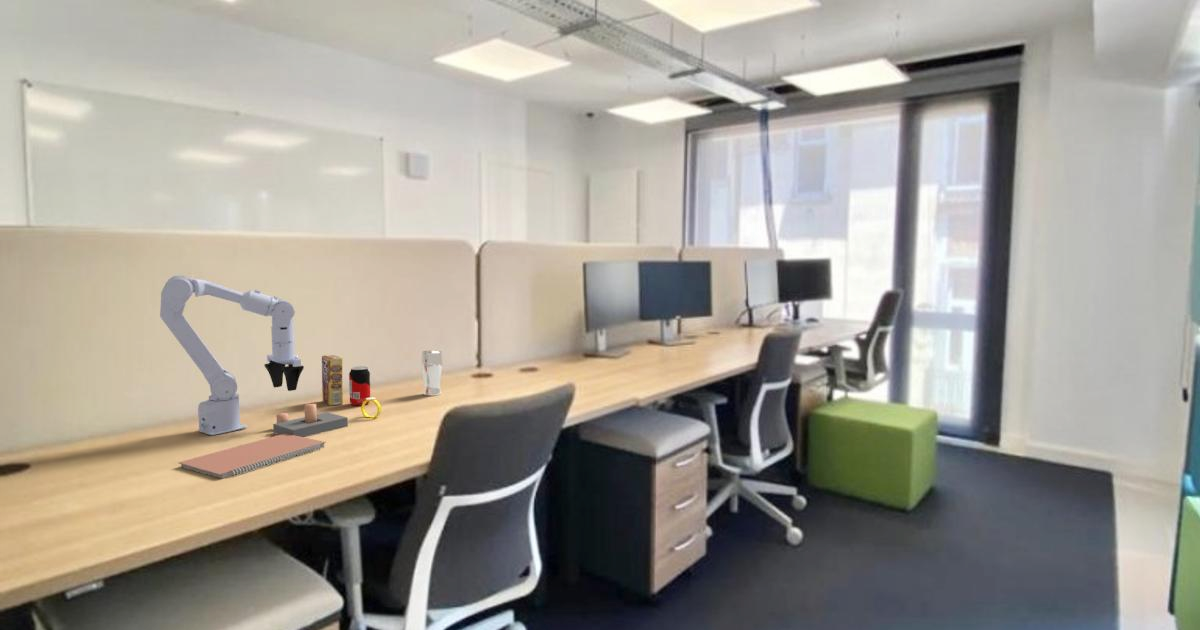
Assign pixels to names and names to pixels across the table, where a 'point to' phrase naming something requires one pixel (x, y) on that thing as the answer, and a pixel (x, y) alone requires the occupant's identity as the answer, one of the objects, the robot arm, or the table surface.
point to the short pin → (282, 417)
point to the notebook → (252, 455)
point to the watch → (374, 402)
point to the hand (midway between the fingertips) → (284, 388)
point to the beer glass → (432, 372)
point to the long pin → (310, 413)
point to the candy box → (332, 380)
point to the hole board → (311, 425)
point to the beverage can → (359, 385)
